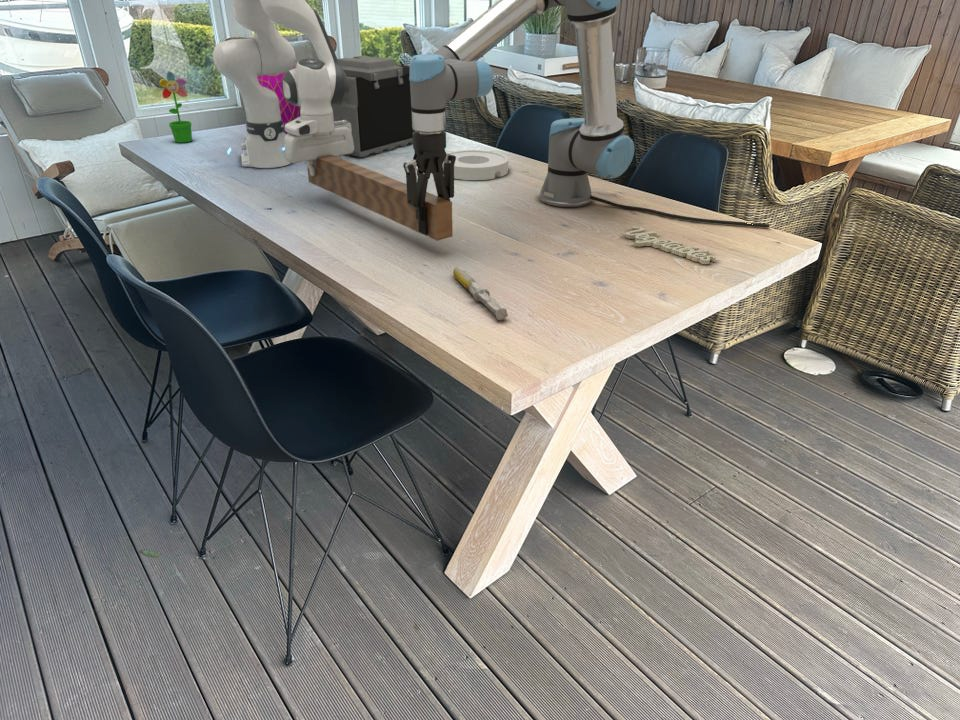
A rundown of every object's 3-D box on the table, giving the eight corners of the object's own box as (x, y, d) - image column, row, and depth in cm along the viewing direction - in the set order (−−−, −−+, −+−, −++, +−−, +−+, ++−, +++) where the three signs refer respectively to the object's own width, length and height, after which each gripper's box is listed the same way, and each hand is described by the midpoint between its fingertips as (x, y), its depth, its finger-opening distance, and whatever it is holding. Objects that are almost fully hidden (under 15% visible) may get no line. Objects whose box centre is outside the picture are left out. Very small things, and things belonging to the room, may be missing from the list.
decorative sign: (611, 234, 176) (635, 225, 181) (610, 237, 176) (634, 229, 182) (700, 264, 159) (723, 254, 164) (699, 268, 159) (723, 257, 165)
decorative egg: (293, 132, 276) (283, 50, 261) (319, 140, 264) (310, 56, 249) (249, 139, 265) (236, 54, 250) (273, 148, 253) (261, 60, 238)
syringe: (449, 274, 155) (449, 263, 153) (465, 272, 156) (464, 260, 154) (490, 323, 135) (491, 310, 133) (508, 319, 136) (508, 307, 134)
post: (452, 236, 163) (452, 201, 159) (437, 240, 161) (436, 205, 156) (322, 179, 202) (319, 150, 198) (308, 182, 200) (305, 152, 195)
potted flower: (172, 144, 257) (157, 72, 244) (170, 139, 263) (155, 69, 250) (199, 141, 260) (185, 71, 248) (196, 137, 266) (182, 68, 254)
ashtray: (441, 160, 240) (441, 149, 238) (507, 162, 240) (508, 150, 237) (436, 179, 220) (435, 167, 218) (508, 180, 220) (508, 168, 218)
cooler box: (383, 133, 276) (378, 52, 261) (425, 141, 265) (422, 56, 250) (314, 150, 251) (304, 61, 235) (358, 160, 240) (350, 67, 224)
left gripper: (344, 116, 197) (348, 165, 204) (278, 126, 185) (285, 177, 193) (356, 120, 193) (360, 169, 200) (289, 130, 181) (296, 182, 189)
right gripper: (449, 122, 160) (451, 218, 172) (386, 133, 150) (392, 234, 162) (470, 128, 155) (470, 226, 167) (406, 139, 145) (411, 243, 157)
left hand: (322, 173), depth 196 cm, fingers closed on post, 4 cm apart
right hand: (432, 230), depth 165 cm, fingers closed on post, 5 cm apart
